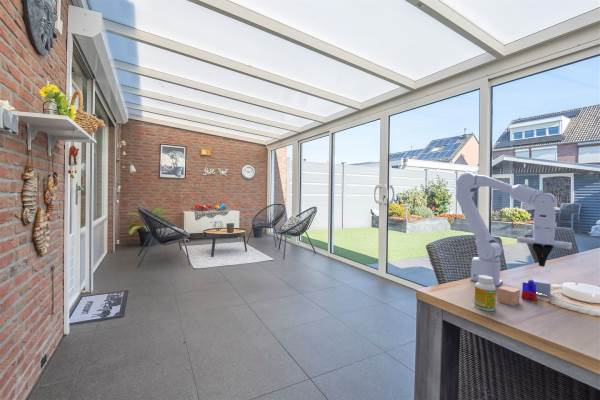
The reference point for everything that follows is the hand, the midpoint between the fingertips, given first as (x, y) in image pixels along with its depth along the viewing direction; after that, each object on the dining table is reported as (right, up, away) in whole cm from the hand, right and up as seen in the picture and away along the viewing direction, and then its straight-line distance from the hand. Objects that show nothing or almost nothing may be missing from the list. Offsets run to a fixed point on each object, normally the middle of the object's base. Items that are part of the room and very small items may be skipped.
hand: (541, 265), depth 101 cm
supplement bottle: (-28, -10, -12) cm, 32 cm away
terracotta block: (-17, -10, -7) cm, 21 cm away
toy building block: (-8, -10, -4) cm, 14 cm away
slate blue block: (0, -10, +1) cm, 10 cm away
